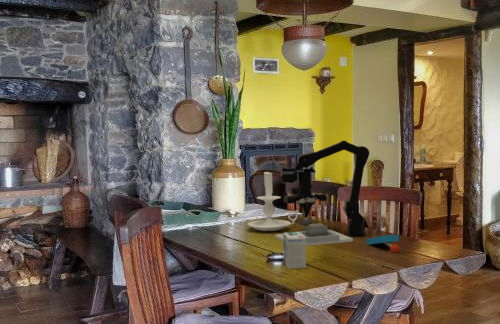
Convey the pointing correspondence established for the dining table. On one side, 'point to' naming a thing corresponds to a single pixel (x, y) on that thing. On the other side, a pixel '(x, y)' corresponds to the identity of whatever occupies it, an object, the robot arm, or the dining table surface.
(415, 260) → the dining table surface
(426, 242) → the dining table surface
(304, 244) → the light bulb box
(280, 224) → the candlestick
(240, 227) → the dining table surface
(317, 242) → the chassis
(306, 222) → the wheel
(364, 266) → the dining table surface
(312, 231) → the block
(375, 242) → the lever
